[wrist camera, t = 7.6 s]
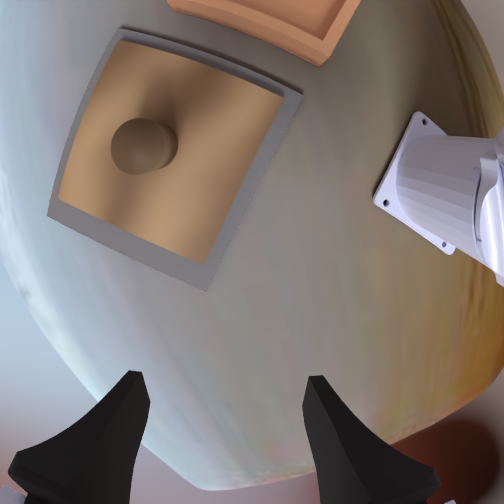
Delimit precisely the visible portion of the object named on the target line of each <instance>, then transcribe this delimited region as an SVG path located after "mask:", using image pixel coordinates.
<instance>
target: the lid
mask: <svg viewBox="0 0 504 504" xmlns="http://www.w3.org/2000/svg"><path fill="white" fill-rule="evenodd" d="M284 99H285V98H283V97H281V96H279V95H277V94H274V93H272V92H270V91H268V90H266V89H264V88H261V87H259V86H257V85H255V84H252V83H250V82H248V81H246V80H243V79H241V78H238V77H236V76H233V75H231V74H229V73H226V72H223V71H221V70H218V69H216V68H213V67H210V66H207V65H205V64H202V63H199V62H196V61H193V60H190V59H187V58H184V57H181V56H178V55H175V54H172V53H168V52H165V51H161V50H158V49H154V48H151V47H147V46H143V45H139V44H135V43H131V42H127V41H122V40H118V42H117V44H116V45H115V47H114V49H113V51H112V53H111V55H110V57H109V59H108V61H107V63H106V65H105V67H104V69H103V71H102V73H101V75H100V77H99V79H98V81H97V83H96V86H95V88H94V90H93V93H92V95H91V97H90V100H89V102H88V104H87V107H86V109H85V112H84V114H83V117H82V120H81V122H80V125H79V128H78V131H77V133H76V136H75V139H74V142H73V145H72V148H71V151H70V155H69V158H68V161H67V165H66V168H65V172H64V175H63V179H62V183H61V187H60V191H59V195H58V199H59V200H61V201H63V202H65V203H68V204H70V205H72V206H74V207H76V208H78V209H80V210H82V211H84V212H86V213H88V214H91V215H93V216H95V217H97V218H99V219H101V220H103V221H105V222H108V223H110V224H112V225H114V226H116V227H118V228H121V229H123V230H125V231H127V232H129V233H132V234H134V235H136V236H138V237H140V238H143V239H145V240H147V241H149V242H151V243H154V244H156V245H158V246H160V247H163V248H165V249H167V250H169V251H172V252H174V253H176V254H179V255H181V256H183V257H185V258H188V259H190V260H192V261H195V262H197V263H199V264H202V265H204V264H205V262H206V260H207V258H208V256H209V253H210V251H211V249H212V247H213V244H214V242H215V240H216V238H217V236H218V234H219V231H220V229H221V227H222V225H223V223H224V221H225V218H226V216H227V214H228V212H229V210H230V208H231V206H232V203H233V201H234V199H235V197H236V195H237V193H238V191H239V189H240V187H241V185H242V182H243V180H244V178H245V176H246V174H247V172H248V170H249V168H250V166H251V164H252V162H253V160H254V158H255V156H256V154H257V152H258V150H259V148H260V146H261V144H262V142H263V140H264V138H265V136H266V134H267V132H268V130H269V128H270V126H271V124H272V122H273V120H274V118H275V116H276V114H277V112H278V110H279V108H280V106H281V105H282V103H283V101H284Z"/></svg>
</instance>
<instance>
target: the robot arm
mask: <svg viewBox="0 0 504 504" xmlns="http://www.w3.org/2000/svg"><path fill="white" fill-rule="evenodd" d="M423 119H424V121H425V125H424V124H423V122H422V121H423ZM384 200H387V204H386V205H383V202H384ZM373 202H374V203H375V204H376V205H377V206H379V207H380V208H382V209H383V210H385V211H386V212H388V213H389V214H391V215H392V216H394V217H395V218H397V219H398V220H400V221H401V222H403V223H404V224H406V225H407V226H409V227H410V228H412V229H413V230H415V231H416V232H417V233H419V234H420V235H422V236H423V237H424V238H426V239H427V240H429V241H430V242H431V243H433V244H434V245H436V246H437V247H438V248H440V249H441V250H442V251H444V252H445V253H446V254H448V255H451V254H452V253H453V252H454V250H455V248H458V249H460V250H461V251H463V252H465V253H466V254H468V255H470V256H471V257H473V258H475V259H476V260H478V261H479V262H481V263H482V264H484V265H486V266H487V267H489V268H490V269H492V270H493V271H494V273H495V275H496V280H497V283H499V284H500V285H502V286H503V287H504V125H503V126H502V127H501V129H500V131H499V133H498V134H497V135H496V136H495V138H494V139H488V138H476V137H462V136H448V135H447V134H446V133H445V132H444V131H442V130H441V129H440V128H439V127H438V126H437V125H436V124H435V123H434V122H432V121H431V120H430V119H429V118H428V117H427V116H425V115H424V114H423V113H422V112H415V113H414V114H413V116H412V118H411V120H410V122H409V125H408V127H407V129H406V131H405V133H404V135H403V138H402V140H401V142H400V144H399V146H398V148H397V150H396V152H395V154H394V157H393V159H392V161H391V163H390V165H389V167H388V169H387V171H386V173H385V175H384V177H383V179H382V181H381V183H380V184H379V186H378V188H377V190H376V192H375V194H374V196H373ZM443 242H444V244H443V246H442V243H443ZM149 407H150V399H149V396H148V392H147V389H146V385H145V382H144V378H143V375H142V372H138V371H130V370H129V371H128V372H127V373H126V374H125V375H124V376H123V377H122V378H121V379H120V381H119V382H118V383H117V384H116V385H115V386H114V387H113V388H112V389H111V390H110V391H109V392H108V393H107V395H106V396H105V397H104V398H103V399H102V400H101V401H100V402H99V403H98V404H97V405H95V407H93V408H92V409H91V410H90V411H89V412H88V413H87V414H86V415H84V416H83V417H82V418H81V419H80V420H78V421H77V422H76V423H74V424H73V425H71V426H70V427H69V428H67V429H66V430H64V431H62V432H61V433H59V434H57V435H56V436H54V437H52V438H50V439H48V440H46V441H44V442H42V443H40V444H38V445H35V446H33V447H30V448H27V449H24V450H21V451H18V452H17V453H16V455H15V457H14V459H13V461H12V463H11V465H10V468H9V469H8V474H9V476H10V477H11V478H12V479H13V480H14V481H15V482H16V483H17V484H18V485H19V486H20V487H22V488H23V489H24V490H25V491H26V492H27V493H28V495H27V497H25V496H23V495H22V494H21V493H19V492H17V491H15V490H14V489H12V488H10V487H9V486H7V485H5V484H2V487H1V489H0V504H129V500H130V490H131V481H132V475H133V468H134V464H135V459H136V456H137V452H138V449H139V446H140V443H141V440H142V436H143V433H144V430H145V427H146V423H147V419H148V414H149ZM302 407H303V416H304V423H305V428H306V432H307V436H308V440H309V443H310V447H311V451H312V454H313V458H314V462H315V466H316V471H317V477H318V484H319V492H320V502H321V504H427V503H426V499H427V498H429V497H430V496H431V495H432V494H433V493H435V492H436V491H437V490H438V489H439V487H440V485H441V483H440V481H439V479H438V476H437V474H436V472H435V471H434V469H433V468H432V467H430V466H427V465H425V464H422V463H420V462H418V461H416V460H413V459H412V458H410V457H408V456H406V455H404V454H402V453H401V452H399V451H398V450H396V449H394V448H393V447H391V446H390V445H388V444H387V443H385V442H384V441H383V440H382V439H380V438H379V437H378V436H376V435H375V434H374V433H373V432H372V431H371V430H369V429H368V428H367V427H366V426H365V425H364V424H363V423H362V422H361V421H360V420H359V419H358V418H357V417H356V416H355V415H354V414H353V413H352V412H351V410H350V409H349V408H348V407H347V406H346V405H345V403H344V402H343V401H342V400H341V399H340V397H339V396H338V395H337V394H336V392H335V391H334V390H333V388H332V387H331V386H330V384H329V383H328V381H327V380H326V379H325V377H324V376H323V375H319V376H309V378H308V382H307V387H306V392H305V396H304V401H303V405H302ZM446 504H456V503H455V501H454V500H451V501H449V502H448V503H446Z"/></svg>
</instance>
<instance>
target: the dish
mask: <svg viewBox="0 0 504 504" xmlns="http://www.w3.org/2000/svg"><path fill="white" fill-rule="evenodd" d="M360 1H361V0H167V2H168V4H169V6H170V8H171V9H172V10H173V11H177V12H181V13H185V14H189V15H192V16H196V17H199V18H202V19H206V20H209V21H212V22H215V23H218V24H221V25H224V26H227V27H230V28H232V29H235V30H238V31H240V32H243V33H246V34H248V35H251V36H253V37H256V38H258V39H260V40H263V41H265V42H267V43H270V44H272V45H274V46H277V47H279V48H281V49H283V50H285V51H287V52H289V53H291V54H293V55H296V56H298V57H300V58H301V59H303V60H305V61H307V62H309V63H311V64H313V65H315V66H317V67H320V66H321V65H322V64H323V63H324V62H325V61H326V60H327V59H328V58H329V57H330V55H331V53H332V52H333V50H334V48H335V46H336V44H337V43H338V41H339V39H340V37H341V35H342V33H343V32H344V30H345V28H346V26H347V24H348V23H349V21H350V19H351V17H352V15H353V14H354V12H355V10H356V8H357V7H358V5H359V3H360Z"/></svg>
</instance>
